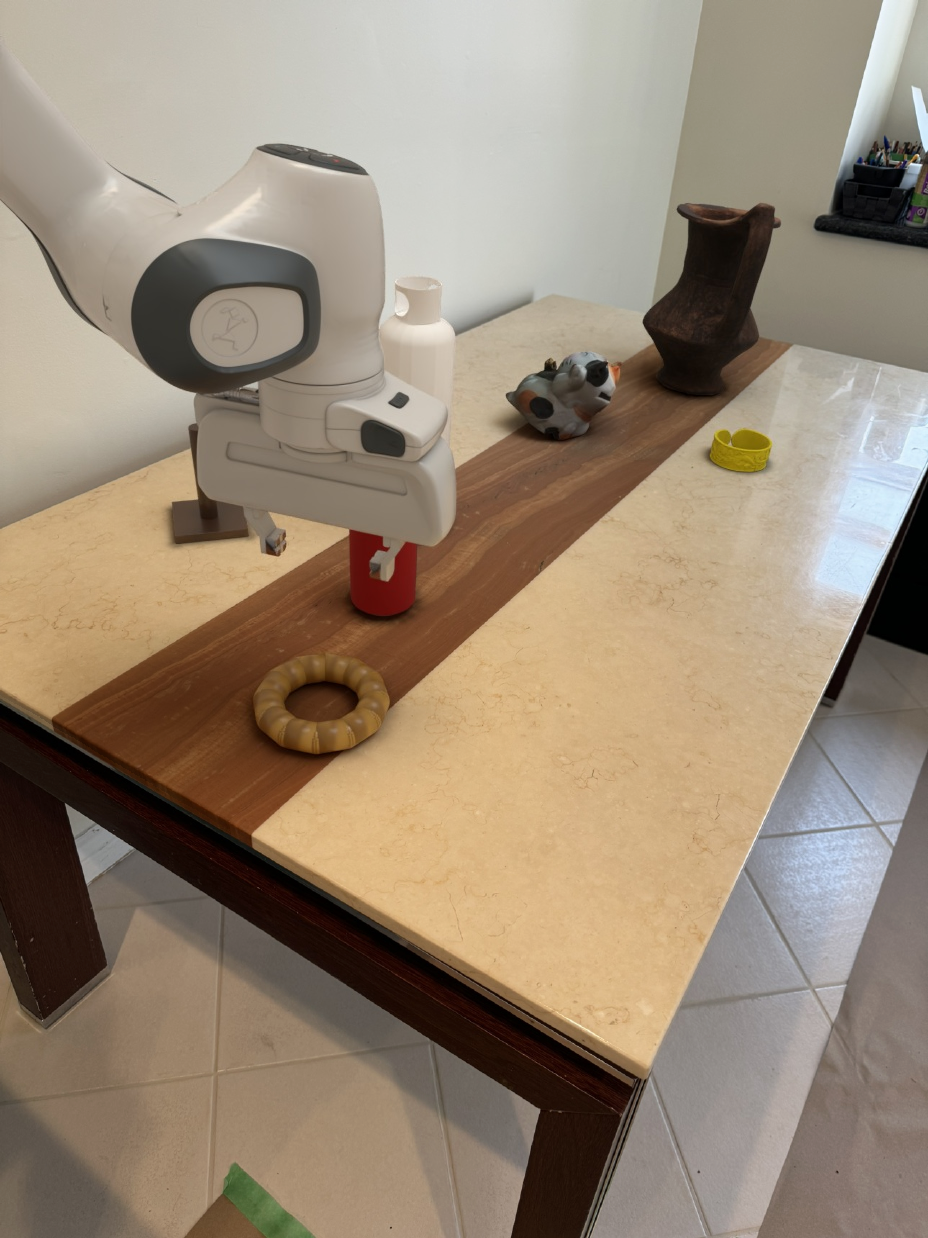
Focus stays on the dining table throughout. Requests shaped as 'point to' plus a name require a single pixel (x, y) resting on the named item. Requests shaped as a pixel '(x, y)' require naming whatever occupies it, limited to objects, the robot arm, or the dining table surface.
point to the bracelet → (740, 450)
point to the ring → (325, 733)
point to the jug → (711, 296)
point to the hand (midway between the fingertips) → (327, 563)
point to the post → (206, 512)
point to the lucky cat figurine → (566, 394)
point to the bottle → (420, 341)
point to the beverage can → (378, 593)
